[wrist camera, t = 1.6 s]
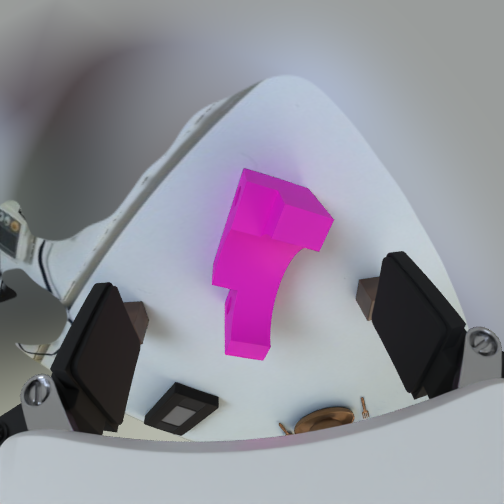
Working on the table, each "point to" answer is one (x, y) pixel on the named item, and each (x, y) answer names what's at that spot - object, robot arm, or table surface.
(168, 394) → the vhs tape
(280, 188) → the toy block
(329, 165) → the table surface
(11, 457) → the robot arm
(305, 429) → the place setting
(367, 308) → the brown cubes
